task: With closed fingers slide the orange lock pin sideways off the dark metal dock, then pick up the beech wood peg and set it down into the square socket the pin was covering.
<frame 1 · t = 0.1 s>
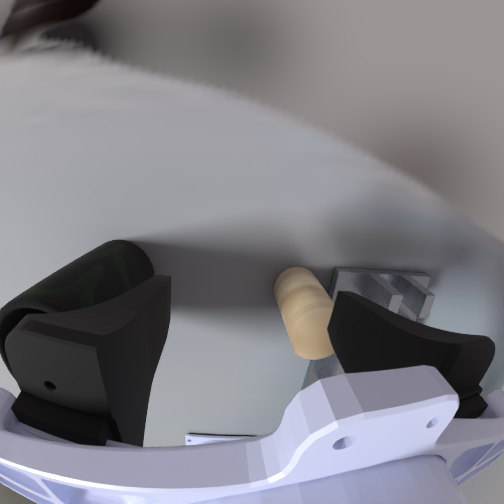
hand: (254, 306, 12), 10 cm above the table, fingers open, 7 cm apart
cup: (122, 272, 22), on the table
peg: (295, 287, 23), on the table
dock: (361, 345, 26), on the table
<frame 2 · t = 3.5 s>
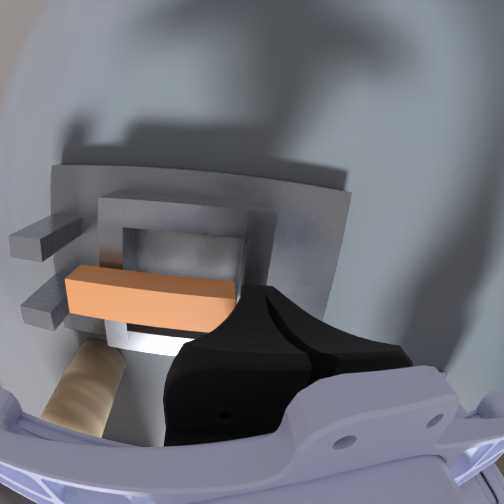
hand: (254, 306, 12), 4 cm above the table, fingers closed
pin: (148, 298, 11), point 5 cm above the table, slide at 1.2 cm, touching gripper
peg: (102, 359, 17), on the table
dock: (187, 262, 16), on the table
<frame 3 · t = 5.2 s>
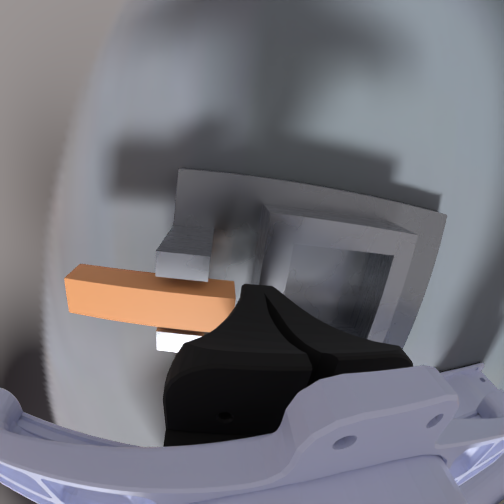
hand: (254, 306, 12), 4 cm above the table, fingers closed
pin: (148, 298, 11), point 4 cm above the table, slide at 8.4 cm, touching gripper
dock: (315, 273, 17), on the table
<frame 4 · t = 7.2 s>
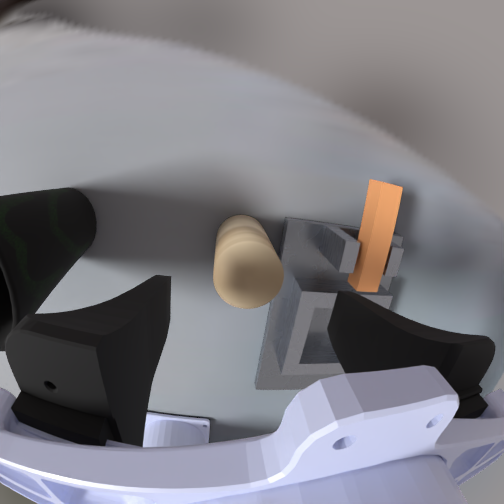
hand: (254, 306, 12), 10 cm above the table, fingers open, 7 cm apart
pin: (375, 236, 17), point 4 cm above the table, slide at 8.4 cm
cup: (68, 221, 20), on the table
peg: (241, 238, 21), on the table
dock: (324, 315, 24), on the table
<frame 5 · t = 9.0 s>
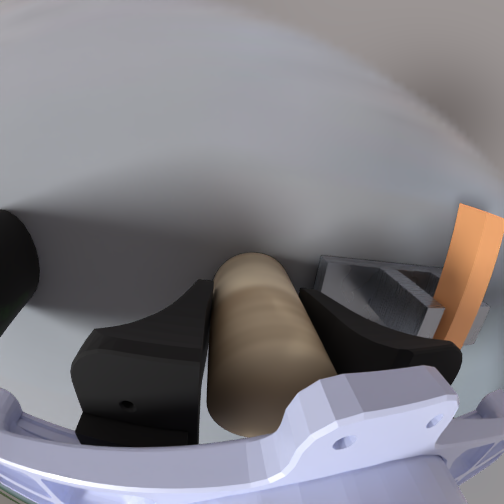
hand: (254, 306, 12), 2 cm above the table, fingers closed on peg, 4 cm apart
pin: (460, 293, 10), point 4 cm above the table, slide at 8.4 cm
cup: (7, 256, 12), on the table
peg: (251, 289, 14), on the table, touching gripper
dock: (361, 379, 16), on the table
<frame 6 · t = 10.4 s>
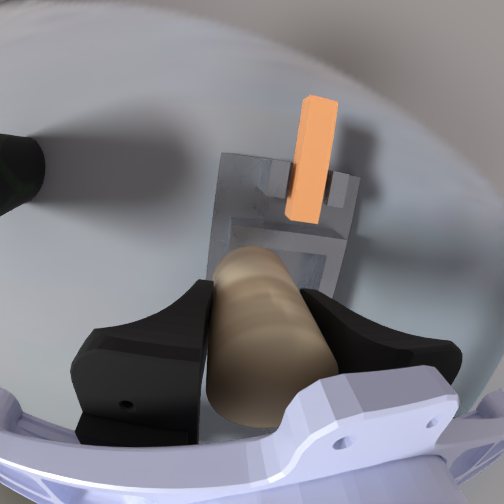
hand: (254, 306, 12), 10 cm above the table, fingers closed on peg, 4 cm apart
pin: (311, 158, 15), point 4 cm above the table, slide at 8.4 cm
cup: (23, 169, 18), on the table
peg: (250, 282, 14), point 8 cm above the table, touching gripper
dock: (273, 268, 22), on the table
when the fingers open (4 cm above the table, at t = 12.0 s): peg drops 1 cm, resting on dock.
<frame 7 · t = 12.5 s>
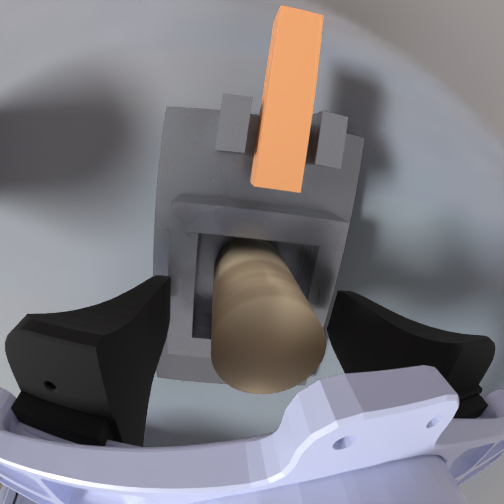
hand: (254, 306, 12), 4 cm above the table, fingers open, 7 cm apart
pin: (287, 95, 9), point 5 cm above the table, slide at 8.4 cm
peg: (248, 270, 15), point 1 cm above the table, touching dock
dock: (246, 266, 16), on the table
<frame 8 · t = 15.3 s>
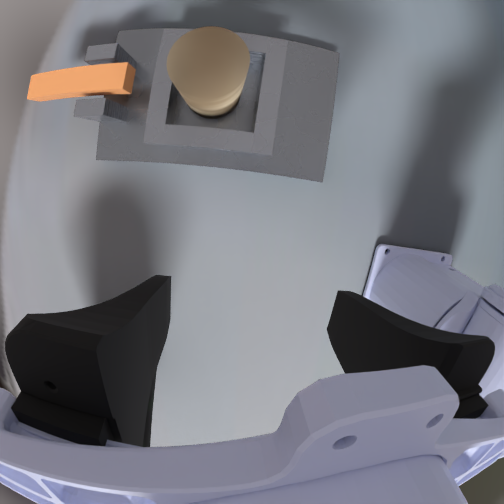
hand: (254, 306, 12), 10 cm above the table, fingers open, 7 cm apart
pin: (77, 82, 13), point 5 cm above the table, slide at 8.4 cm
cup: (129, 353, 24), on the table
peg: (213, 93, 17), point 1 cm above the table, touching dock
dock: (217, 96, 18), on the table
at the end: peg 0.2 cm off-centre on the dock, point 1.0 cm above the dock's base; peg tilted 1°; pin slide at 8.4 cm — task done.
